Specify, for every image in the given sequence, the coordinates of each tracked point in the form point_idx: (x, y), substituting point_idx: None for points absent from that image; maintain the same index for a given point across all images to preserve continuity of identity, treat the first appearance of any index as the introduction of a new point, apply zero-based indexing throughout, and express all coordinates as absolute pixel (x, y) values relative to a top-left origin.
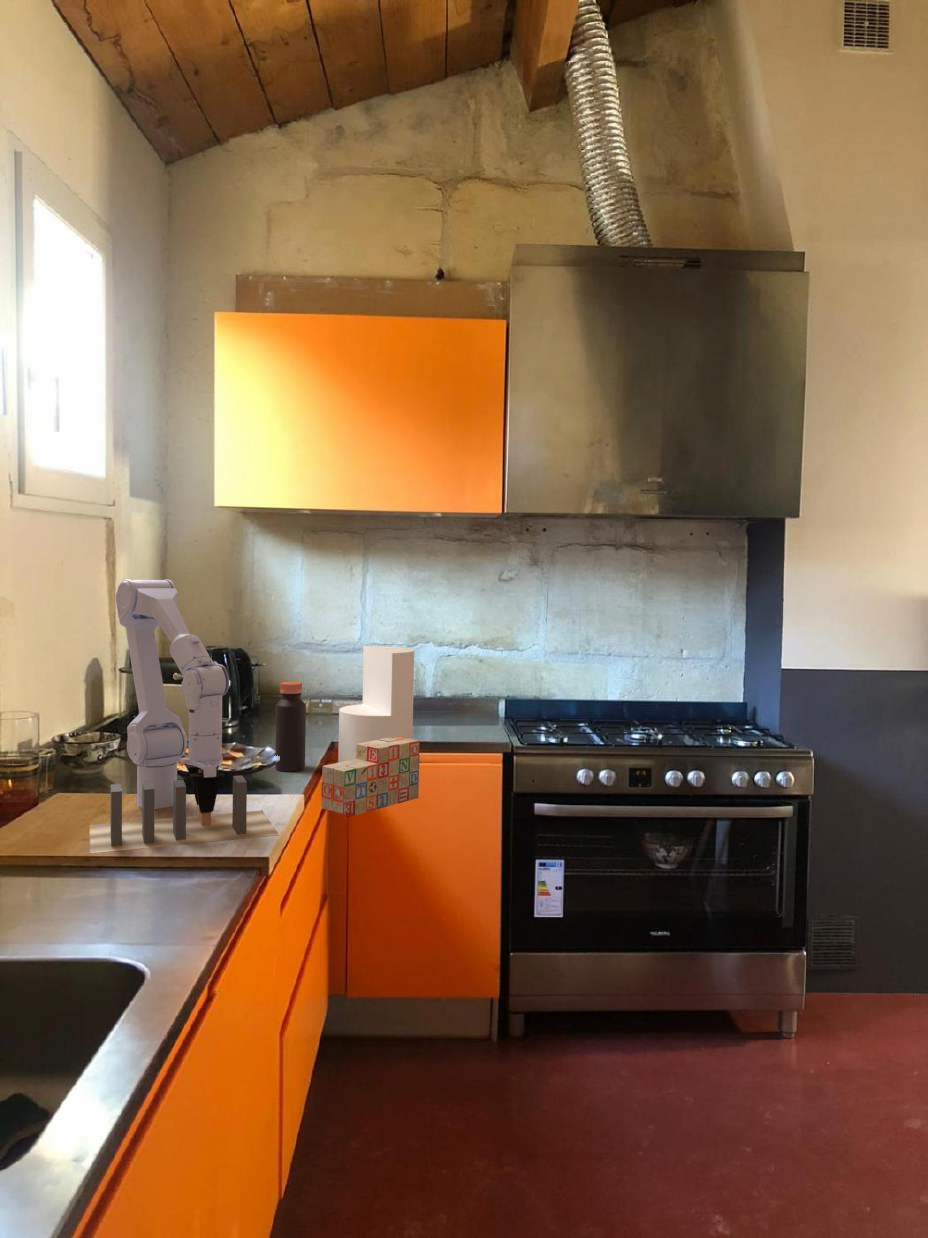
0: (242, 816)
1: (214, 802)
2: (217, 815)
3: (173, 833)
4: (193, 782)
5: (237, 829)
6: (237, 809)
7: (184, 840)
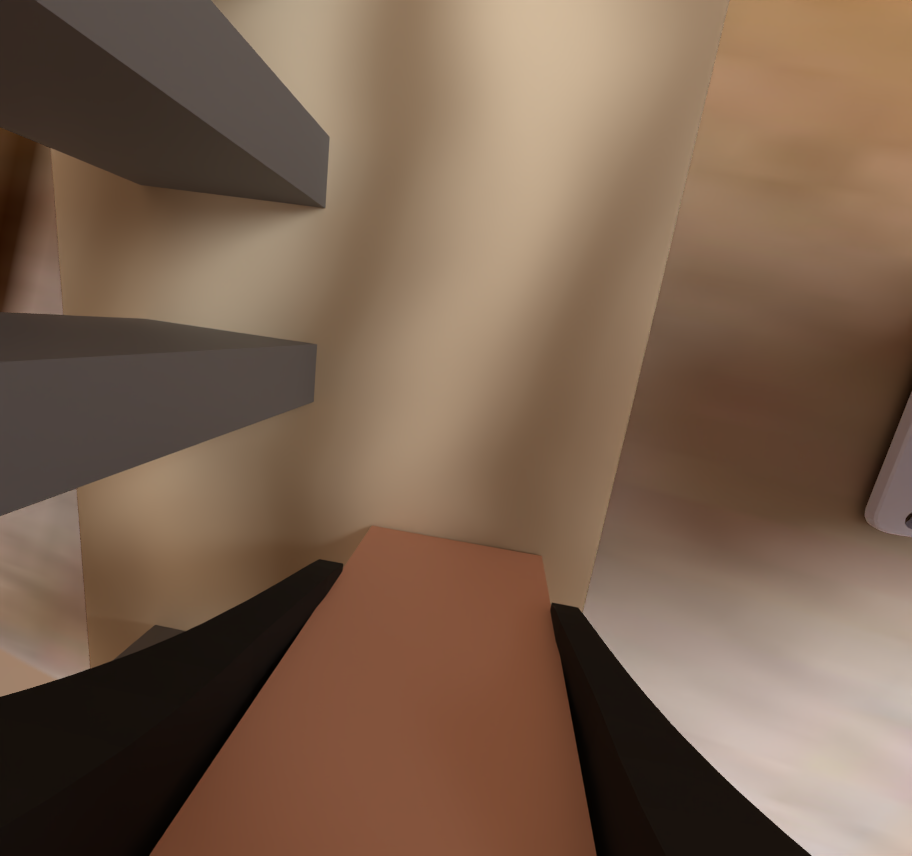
0: None
1: None
2: None
3: (280, 338)
4: (611, 759)
5: (132, 646)
6: None
7: None
